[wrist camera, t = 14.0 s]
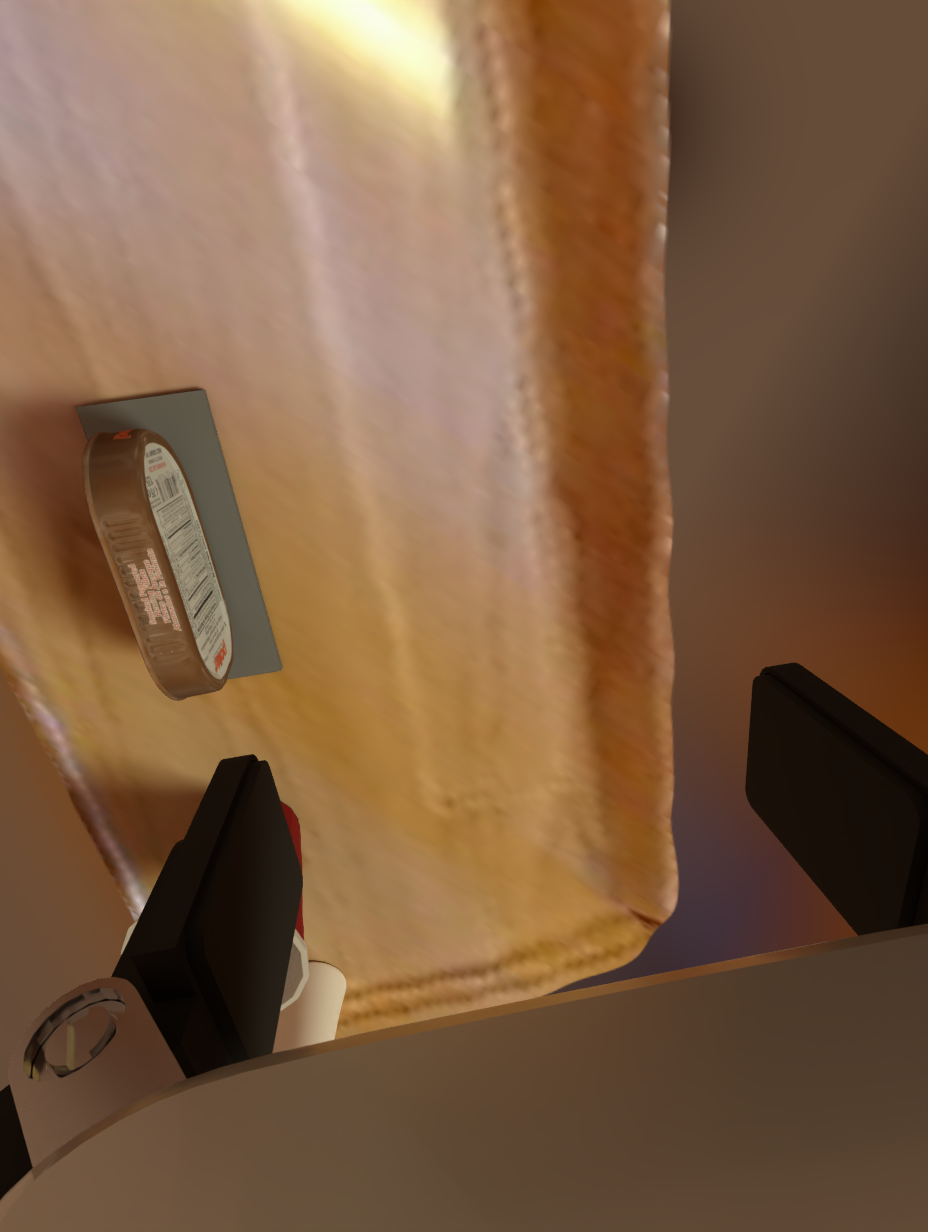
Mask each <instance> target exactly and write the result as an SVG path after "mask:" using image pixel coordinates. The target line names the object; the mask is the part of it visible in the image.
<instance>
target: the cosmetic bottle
mask: <svg viewBox="0 0 928 1232" xmlns="http://www.w3.org/2000/svg"><path fill="white" fill-rule="evenodd" d="M308 964H309V978H308V980H307V982H306V984H305V986H304V988H303V990H302V992H301V994H300V996H299V998H298V999H297V1000H296V1001H294V1002H293V1003H291V1004H290V1005H289V1006H287V1007H286V1008H285V1009H283V1010H282V1011H281V1012H280V1015H279V1020H278V1026H277V1031H276V1037H275V1042H274V1048H273V1053H276V1052H280V1051H285V1050H289V1049H294V1048H298V1047H303V1046H307V1045H312V1044H316V1043H321V1042H326V1041H330V1040H334V1038H335V1033H336V1028H337V1023H338V1018H339V1014H340V1010H341V1006H342V1002H343V998H344V994H345V991H346V980H345V977H344V975H343V974H342V973H341V972H340V971H339V970H338V969H337V968H336V967H334V966H332V965H330V964H327V963H323V962H308Z"/></svg>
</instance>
